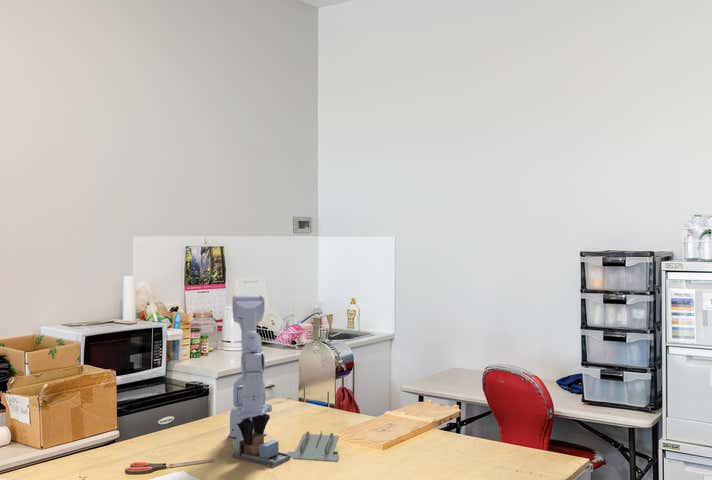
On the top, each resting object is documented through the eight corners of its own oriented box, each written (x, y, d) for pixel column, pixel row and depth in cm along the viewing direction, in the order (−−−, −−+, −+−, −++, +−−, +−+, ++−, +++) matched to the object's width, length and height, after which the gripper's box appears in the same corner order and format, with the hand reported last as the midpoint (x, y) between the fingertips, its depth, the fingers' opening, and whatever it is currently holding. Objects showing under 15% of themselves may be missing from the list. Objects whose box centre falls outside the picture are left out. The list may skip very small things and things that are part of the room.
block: (243, 453, 192) (243, 435, 191) (253, 449, 195) (253, 432, 195) (254, 455, 189) (254, 438, 189) (263, 451, 193) (263, 434, 193)
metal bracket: (297, 426, 202) (346, 429, 199) (298, 443, 204) (347, 446, 201) (283, 455, 189) (335, 458, 186) (285, 472, 191) (337, 476, 188)
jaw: (259, 457, 188) (259, 444, 188) (271, 451, 192) (271, 439, 192) (266, 458, 186) (266, 446, 186) (278, 453, 191) (278, 441, 191)
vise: (231, 457, 192) (231, 440, 192) (249, 449, 198) (249, 433, 198) (273, 467, 184) (273, 449, 184) (290, 458, 190) (289, 441, 190)
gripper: (246, 402, 184) (246, 451, 184) (279, 391, 196) (280, 437, 196) (227, 399, 187) (227, 447, 188) (261, 388, 200) (261, 433, 200)
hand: (253, 442), depth 192 cm, fingers closed on block, 4 cm apart
